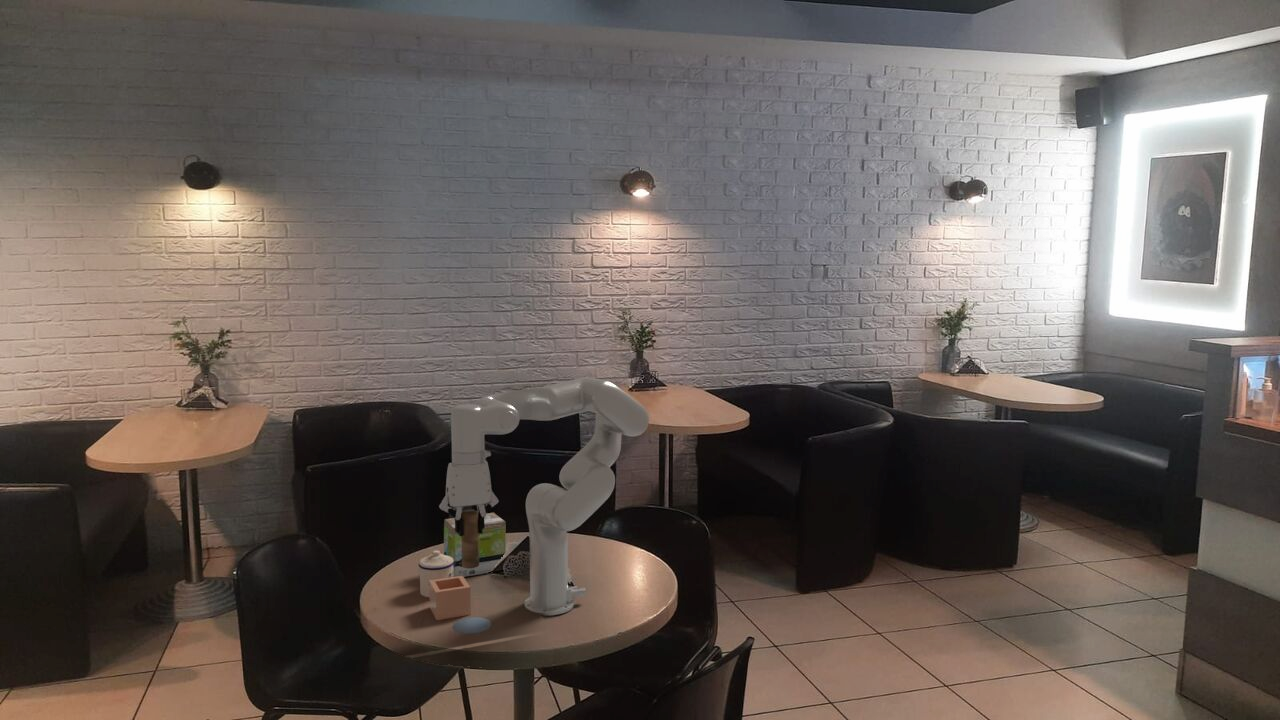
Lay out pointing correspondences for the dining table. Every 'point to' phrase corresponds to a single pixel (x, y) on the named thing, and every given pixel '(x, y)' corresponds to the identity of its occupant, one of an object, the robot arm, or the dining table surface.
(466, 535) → the walnut pin
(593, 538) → the dining table surface
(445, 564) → the teacup with lid
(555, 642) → the dining table surface
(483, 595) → the dining table surface
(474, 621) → the slate coaster
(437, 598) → the terracotta cup
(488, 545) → the tea box
